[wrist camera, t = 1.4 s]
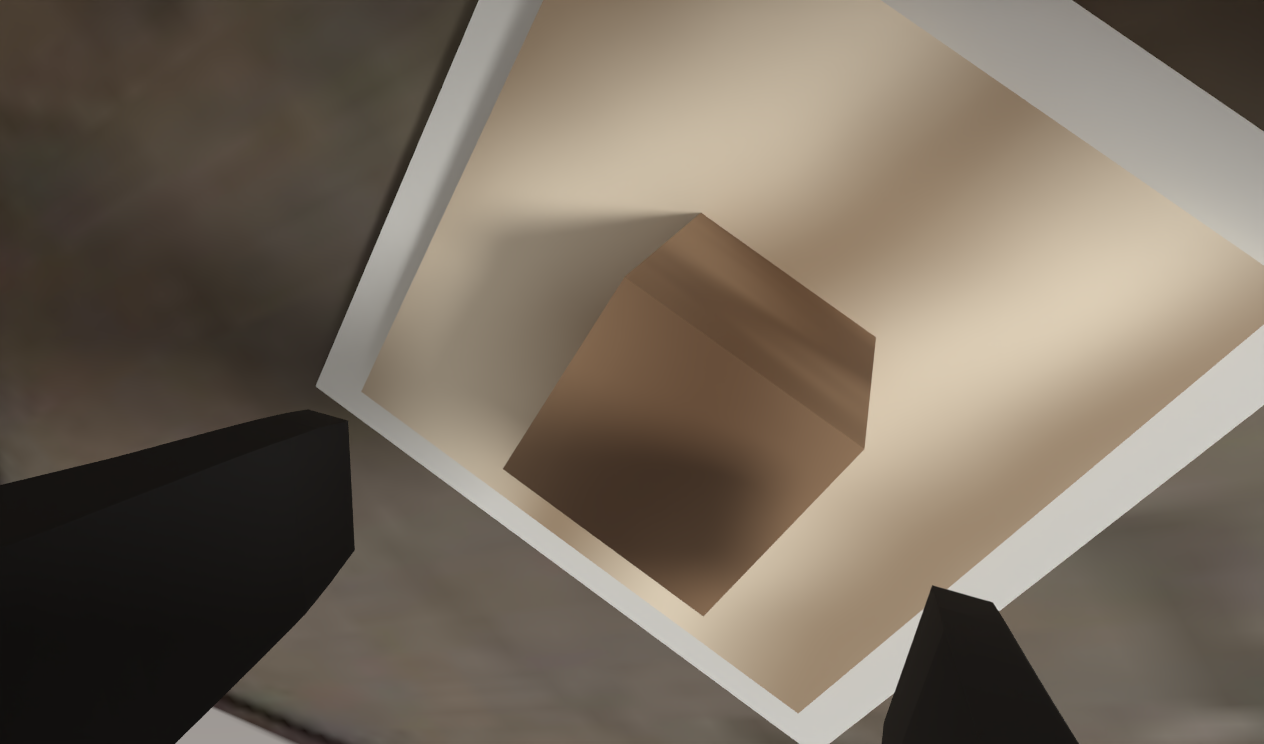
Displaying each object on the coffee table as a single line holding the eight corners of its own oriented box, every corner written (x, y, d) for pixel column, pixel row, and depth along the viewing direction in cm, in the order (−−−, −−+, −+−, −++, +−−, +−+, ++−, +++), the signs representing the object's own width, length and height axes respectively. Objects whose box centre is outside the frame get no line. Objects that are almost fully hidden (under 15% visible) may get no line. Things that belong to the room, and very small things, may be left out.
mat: (1430, 251, 12) (1450, 259, 12) (816, 739, 20) (814, 754, 20) (621, -303, 13) (612, -316, 13) (328, 379, 21) (315, 386, 20)
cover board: (1280, 278, 13) (1495, 415, 8) (801, 688, 19) (768, 897, 14) (640, -166, 13) (496, -278, 9) (380, 379, 20) (216, 484, 15)
